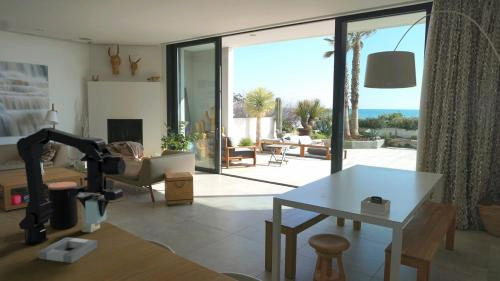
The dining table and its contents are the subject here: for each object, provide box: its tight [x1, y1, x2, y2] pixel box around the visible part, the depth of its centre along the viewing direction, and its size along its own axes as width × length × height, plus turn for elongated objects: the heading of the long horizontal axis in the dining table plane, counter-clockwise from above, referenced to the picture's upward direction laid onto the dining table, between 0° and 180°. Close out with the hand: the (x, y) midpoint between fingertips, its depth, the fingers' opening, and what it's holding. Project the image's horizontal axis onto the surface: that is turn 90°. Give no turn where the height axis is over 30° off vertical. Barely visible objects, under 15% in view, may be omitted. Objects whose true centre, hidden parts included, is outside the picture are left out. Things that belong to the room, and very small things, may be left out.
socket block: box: [37, 236, 98, 264], centre depth 123 cm, size 13×13×2 cm
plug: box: [85, 195, 107, 224], centre depth 127 cm, size 4×6×10 cm
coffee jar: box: [47, 181, 79, 231], centre depth 148 cm, size 11×11×18 cm
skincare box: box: [80, 202, 101, 233], centre depth 144 cm, size 6×4×12 cm
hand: (96, 215), depth 127 cm, fingers closed on plug, 4 cm apart
